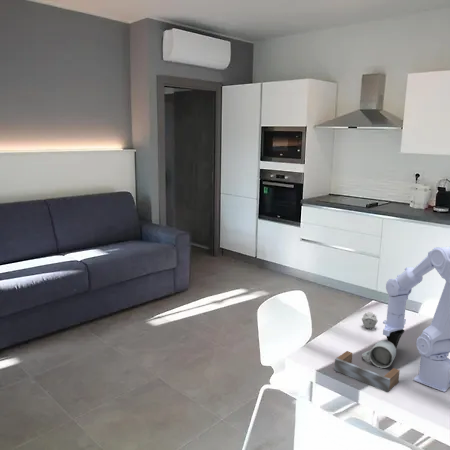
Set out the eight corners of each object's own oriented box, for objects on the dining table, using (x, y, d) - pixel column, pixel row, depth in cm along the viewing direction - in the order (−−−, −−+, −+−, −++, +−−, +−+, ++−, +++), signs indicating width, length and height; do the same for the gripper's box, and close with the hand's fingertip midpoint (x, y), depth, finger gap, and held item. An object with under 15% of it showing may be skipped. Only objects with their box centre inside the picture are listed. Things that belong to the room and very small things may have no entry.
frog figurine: (360, 330, 176) (361, 313, 174) (361, 323, 182) (363, 307, 181) (376, 332, 174) (378, 316, 172) (377, 326, 180) (378, 309, 179)
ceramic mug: (396, 360, 152) (398, 340, 150) (391, 371, 145) (393, 349, 143) (365, 353, 157) (366, 333, 156) (359, 362, 150) (360, 341, 149)
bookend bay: (398, 382, 138) (399, 370, 137) (387, 392, 132) (389, 380, 132) (346, 361, 150) (347, 350, 149) (334, 370, 144) (335, 358, 144)
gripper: (393, 303, 161) (389, 338, 163) (375, 314, 150) (372, 351, 153) (412, 309, 156) (409, 344, 159) (396, 320, 146) (392, 358, 148)
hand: (392, 348), depth 155 cm, fingers closed
